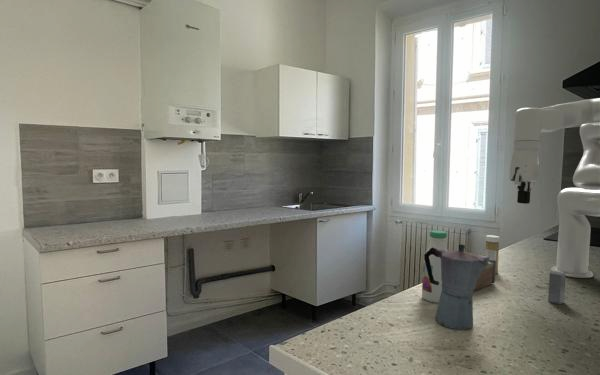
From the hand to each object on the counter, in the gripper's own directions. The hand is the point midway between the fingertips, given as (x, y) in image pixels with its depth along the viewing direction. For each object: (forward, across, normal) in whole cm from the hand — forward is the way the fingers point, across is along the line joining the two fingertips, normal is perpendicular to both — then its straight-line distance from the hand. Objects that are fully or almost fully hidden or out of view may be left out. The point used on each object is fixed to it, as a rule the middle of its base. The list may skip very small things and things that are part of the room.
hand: (523, 203), depth 129 cm
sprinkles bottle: (+27, -6, -13) cm, 31 cm away
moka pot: (+27, +47, +7) cm, 55 cm away
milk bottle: (+27, +36, -6) cm, 46 cm away
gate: (+27, +16, -5) cm, 31 cm away
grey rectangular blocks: (+27, +8, +3) cm, 28 cm away
